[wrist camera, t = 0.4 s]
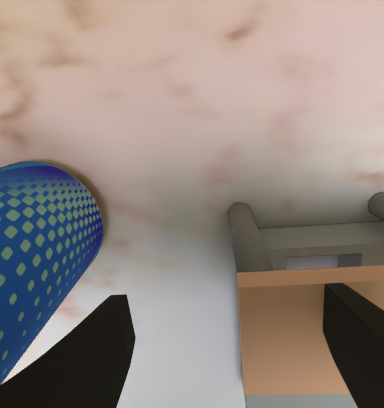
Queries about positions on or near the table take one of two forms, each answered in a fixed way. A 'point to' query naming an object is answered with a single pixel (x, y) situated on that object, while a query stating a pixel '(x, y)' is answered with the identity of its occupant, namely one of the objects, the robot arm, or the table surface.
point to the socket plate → (348, 257)
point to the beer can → (40, 249)
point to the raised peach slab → (289, 313)
